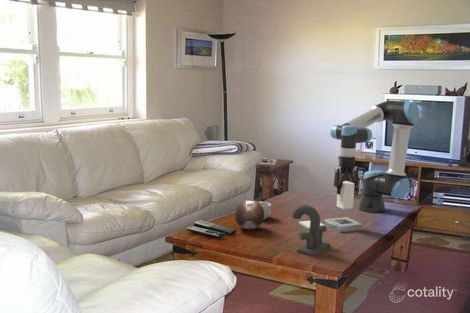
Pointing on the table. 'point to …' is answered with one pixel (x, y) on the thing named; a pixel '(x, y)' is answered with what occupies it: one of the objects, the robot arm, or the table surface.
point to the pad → (307, 224)
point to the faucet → (311, 231)
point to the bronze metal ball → (249, 214)
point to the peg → (346, 195)
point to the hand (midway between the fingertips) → (345, 199)
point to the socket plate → (343, 224)
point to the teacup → (266, 208)
